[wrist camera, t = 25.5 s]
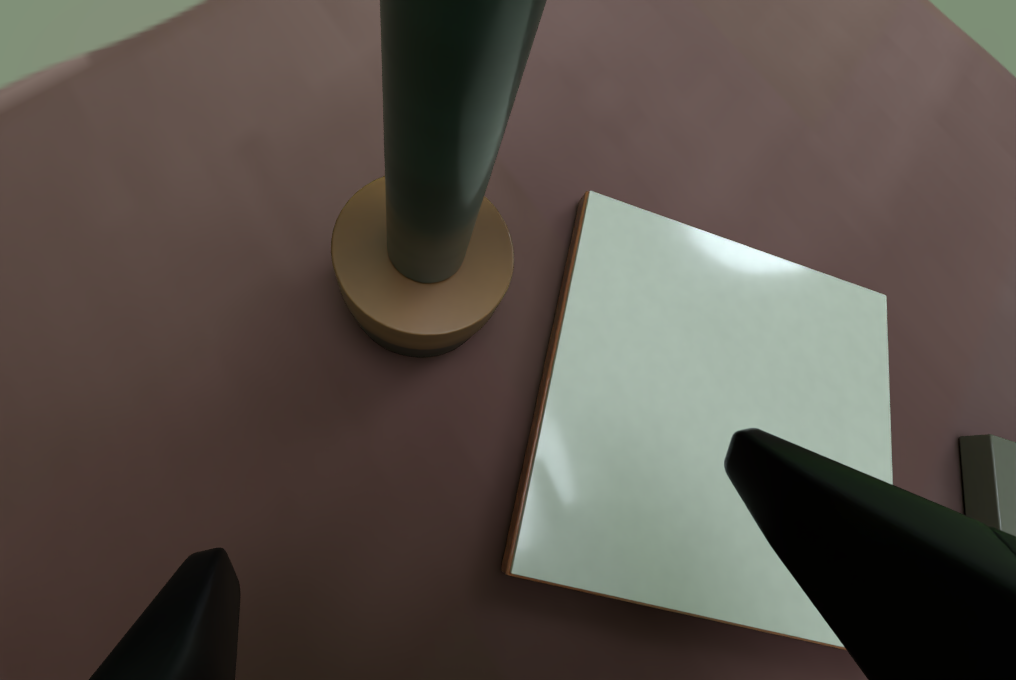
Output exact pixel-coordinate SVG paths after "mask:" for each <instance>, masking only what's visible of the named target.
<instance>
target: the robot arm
mask: <svg viewBox="0 0 1016 680" xmlns="http://www.w3.org/2000/svg"><path fill="white" fill-rule="evenodd" d="M724 469H725V472H726V474H727V476H728V478H729V479H730V481H731V482H732V484H733V486H734V487H735V489H736V491H737V492H738V494H739V496H740V497H741V499H742V501H743V502H744V504H745V506H746V507H747V509H748V510H749V512H750V514H751V515H752V517H753V519H754V520H755V522H756V524H757V525H758V527H759V529H760V530H761V532H762V533H763V535H764V537H765V538H766V540H767V541H768V543H769V544H770V546H771V547H772V549H773V550H774V551H775V553H776V554H777V556H778V557H779V558H780V560H781V561H782V563H783V564H784V565H785V567H786V568H787V569H788V571H789V572H790V573H791V575H792V576H793V578H794V579H795V580H796V582H797V583H798V584H799V586H800V587H801V588H802V590H803V591H804V593H805V594H806V595H807V597H808V598H809V599H810V601H811V602H812V603H813V605H814V606H815V608H816V609H817V610H818V612H819V613H820V614H821V616H822V617H823V618H824V620H825V621H826V623H827V624H828V625H829V627H830V628H831V629H832V631H833V632H834V633H835V635H836V636H837V637H838V639H839V640H840V642H841V643H842V644H843V646H844V647H845V648H846V650H847V651H848V652H849V654H850V655H851V657H852V658H853V659H854V661H855V662H856V663H857V665H858V666H859V667H860V669H861V670H862V672H863V673H864V674H865V676H866V677H867V678H868V680H1016V536H1014V535H1011V534H1009V533H1007V532H1004V531H1002V530H1000V529H997V528H995V527H992V526H989V527H988V526H987V525H986V524H985V523H983V522H980V521H978V520H975V519H973V518H971V517H968V516H966V515H963V514H961V513H959V512H956V511H954V510H952V509H949V508H947V507H944V506H942V505H940V504H937V503H935V502H932V501H930V500H928V499H925V498H923V497H921V496H918V495H916V494H913V493H911V492H909V491H906V490H904V489H901V488H899V487H897V486H894V485H892V484H889V483H887V482H885V481H882V480H880V479H878V478H875V477H873V476H870V475H868V474H866V473H863V472H861V471H858V470H856V469H854V468H851V467H849V466H846V465H844V464H842V463H839V462H837V461H835V460H832V459H830V458H827V457H825V456H823V455H820V454H818V453H815V452H813V451H811V450H808V449H806V448H804V447H801V446H799V445H796V444H794V443H792V442H789V441H787V440H784V439H782V438H780V437H777V436H775V435H773V434H770V433H768V432H765V431H763V430H761V429H758V428H747V429H743V430H739V431H736V432H735V433H734V434H733V435H732V438H731V441H730V444H729V447H728V450H727V453H726V456H725V459H724ZM239 612H240V584H239V580H238V578H237V576H236V573H235V571H234V568H233V566H232V564H231V561H230V559H229V557H228V554H227V552H226V551H225V550H224V549H223V548H213V549H209V550H205V551H200V552H196V553H193V554H192V555H190V556H189V557H188V558H187V559H186V560H185V561H184V562H183V563H182V565H181V566H180V567H179V568H178V570H177V571H176V572H175V573H174V575H173V576H172V577H171V578H170V580H169V581H168V582H167V583H166V585H165V586H164V587H163V588H162V590H161V591H160V592H159V593H158V595H157V596H156V597H155V598H154V599H153V601H152V602H151V603H150V604H149V606H148V607H147V608H146V609H145V611H144V612H143V613H142V614H141V616H140V617H139V618H138V619H137V621H136V622H135V623H134V624H133V626H132V627H131V628H130V629H129V630H128V632H127V633H126V634H125V635H124V637H123V638H122V639H121V640H120V642H119V643H118V644H117V645H116V647H115V648H114V649H113V650H112V652H111V653H110V654H109V655H108V657H107V658H106V659H105V660H104V662H103V663H102V664H101V665H100V666H99V668H98V669H97V670H96V671H95V673H94V674H93V675H92V676H91V678H90V679H89V680H235V674H236V659H237V643H238V627H239Z"/></svg>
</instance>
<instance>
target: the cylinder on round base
mask: <svg viewBox="0 0 1016 680" xmlns="http://www.w3.org/2000/svg"><path fill="white" fill-rule="evenodd" d="M545 3H546V0H380V18H381V53H382V87H383V122H384V156H385V176H383V177H381V178H379V179H376V180H374V181H372V182H371V183H369V184H367V185H366V186H364V187H363V188H362V189H360V190H359V191H358V192H357V193H355V194H354V195H353V197H352V198H351V199H350V200H349V201H348V202H347V203H346V205H345V206H344V208H343V209H342V210H341V212H340V214H339V216H338V218H337V220H336V223H335V226H334V229H333V234H332V240H331V256H332V263H333V267H334V271H335V274H336V278H337V281H338V285H339V288H340V292H341V295H342V297H343V299H344V302H345V304H346V306H347V307H348V309H349V310H350V312H351V313H352V315H353V316H354V317H355V318H356V320H357V322H358V323H359V325H360V326H361V328H362V329H363V330H364V331H365V333H366V334H367V335H368V336H369V337H370V338H371V339H372V340H374V341H375V342H376V343H378V344H379V345H381V346H382V347H384V348H386V349H388V350H390V351H392V352H395V353H398V354H401V355H405V356H411V357H431V356H437V355H440V354H444V353H447V352H449V351H451V350H454V349H455V348H457V347H459V346H460V345H462V344H463V343H464V342H466V341H467V340H468V339H469V338H470V337H471V336H472V335H474V334H475V333H476V332H477V331H479V330H480V329H481V328H482V327H483V326H484V325H485V324H486V323H487V322H488V320H489V319H490V318H491V316H492V315H493V313H494V312H495V310H496V308H497V307H498V305H499V303H500V302H501V300H502V298H503V297H504V295H505V293H506V291H507V289H508V287H509V284H510V281H511V278H512V273H513V268H514V251H513V244H512V240H511V236H510V233H509V231H508V228H507V225H506V224H505V222H504V220H503V218H502V216H501V215H500V213H499V212H498V210H497V209H496V208H495V207H494V205H493V204H492V203H491V202H490V201H489V200H488V199H487V198H486V197H485V196H484V195H485V191H486V188H487V185H488V182H489V179H490V176H491V173H492V169H493V166H494V163H495V160H496V157H497V154H498V151H499V148H500V144H501V141H502V138H503V135H504V132H505V129H506V126H507V122H508V119H509V116H510V113H511V110H512V107H513V104H514V101H515V97H516V94H517V91H518V88H519V85H520V82H521V79H522V75H523V72H524V69H525V66H526V63H527V60H528V57H529V54H530V50H531V47H532V44H533V41H534V38H535V35H536V32H537V29H538V25H539V22H540V19H541V16H542V13H543V10H544V7H545Z"/></svg>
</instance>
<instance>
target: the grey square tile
mask: <svg viewBox="0 0 1016 680" xmlns="http://www.w3.org/2000/svg"><path fill="white" fill-rule="evenodd" d="M960 451H961V463H962V476H963V489H964V501H965V514H966V516H968V517H971V518H973V519H975V520H978V521H980V522H983V523H985V524H986V525H987V526H988V527H989V526H992V527H995V528H997V529H1000V530H1002V531H1004V532H1007V533H1009V534H1011V535H1014V536H1016V442H1013V441H1010V440H1007V439H1004V438H1000V437H997V436H994V435H991V434H988V435H974V436H961V437H960Z"/></svg>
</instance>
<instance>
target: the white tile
mask: <svg viewBox="0 0 1016 680" xmlns="http://www.w3.org/2000/svg"><path fill="white" fill-rule="evenodd" d="M747 428H758V429H761V430H763V431H765V432H768V433H770V434H773V435H775V436H777V437H780V438H782V439H784V440H787V441H789V442H792V443H794V444H796V445H799V446H801V447H804V448H806V449H808V450H811V451H813V452H815V453H818V454H820V455H823V456H825V457H827V458H830V459H832V460H835V461H837V462H839V463H842V464H844V465H846V466H849V467H851V468H854V469H856V470H858V471H861V472H863V473H866V474H868V475H870V476H873V477H875V478H878V479H880V480H882V481H885V482H887V483H889V484H892V485H893V480H892V450H891V421H890V392H889V362H888V333H887V303H886V295H883V294H881V293H878V292H875V291H872V290H869V289H866V288H864V287H861V286H858V285H855V284H852V283H850V282H847V281H844V280H841V279H838V278H835V277H833V276H830V275H827V274H824V273H821V272H818V271H816V270H813V269H810V268H807V267H804V266H802V265H799V264H796V263H793V262H790V261H787V260H785V259H782V258H779V257H776V256H773V255H771V254H768V253H765V252H762V251H759V250H756V249H754V248H751V247H748V246H745V245H742V244H739V243H737V242H734V241H731V240H728V239H725V238H723V237H720V236H717V235H714V234H711V233H708V232H706V231H703V230H700V229H697V228H694V227H692V226H689V225H686V224H683V223H680V222H677V221H675V220H672V219H669V218H666V217H663V216H660V215H658V214H655V213H652V212H649V211H646V210H644V209H641V208H638V207H635V206H632V205H629V204H627V203H624V202H621V201H618V200H615V199H613V198H610V197H607V196H604V195H601V194H598V193H596V192H593V191H590V192H588V191H586V192H585V194H584V195H583V197H582V198H581V200H580V201H579V205H578V210H577V214H576V219H575V224H574V228H573V233H572V238H571V242H570V247H569V252H568V256H567V261H566V266H565V271H564V275H563V280H562V285H561V289H560V294H559V299H558V303H557V308H556V313H555V317H554V322H553V327H552V332H551V336H550V341H549V346H548V350H547V355H546V360H545V364H544V369H543V374H542V378H541V383H540V388H539V392H538V397H537V402H536V407H535V411H534V416H533V421H532V425H531V430H530V435H529V439H528V444H527V449H526V453H525V458H524V463H523V468H522V472H521V477H520V482H519V486H518V491H517V496H516V500H515V505H514V510H513V514H512V519H511V524H510V529H509V533H508V538H507V543H506V547H505V552H504V557H503V561H502V566H501V570H502V571H503V572H504V573H505V574H506V575H508V576H513V577H517V578H522V579H526V580H531V581H535V582H540V583H545V584H549V585H554V586H558V587H563V588H567V589H572V590H576V591H581V592H585V593H590V594H594V595H599V596H603V597H608V598H612V599H617V600H621V601H626V602H630V603H635V604H639V605H644V606H648V607H653V608H657V609H662V610H666V611H671V612H675V613H680V614H685V615H689V616H694V617H698V618H703V619H707V620H712V621H716V622H721V623H725V624H730V625H734V626H739V627H743V628H748V629H752V630H757V631H761V632H766V633H770V634H775V635H779V636H784V637H788V638H793V639H797V640H802V641H806V642H811V643H815V644H820V645H825V646H829V647H834V648H838V649H843V650H846V648H845V647H844V646H843V644H842V643H841V642H840V640H839V639H838V637H837V636H836V635H835V633H834V632H833V631H832V629H831V628H830V627H829V625H828V624H827V623H826V621H825V620H824V618H823V617H822V616H821V614H820V613H819V612H818V610H817V609H816V608H815V606H814V605H813V603H812V602H811V601H810V599H809V598H808V597H807V595H806V594H805V593H804V591H803V590H802V588H801V587H800V586H799V584H798V583H797V582H796V580H795V579H794V578H793V576H792V575H791V573H790V572H789V571H788V569H787V568H786V567H785V565H784V564H783V563H782V561H781V560H780V558H779V557H778V556H777V554H776V553H775V551H774V550H773V549H772V547H771V546H770V544H769V543H768V541H767V540H766V538H765V537H764V535H763V533H762V532H761V530H760V529H759V527H758V525H757V524H756V522H755V520H754V519H753V517H752V515H751V514H750V512H749V510H748V509H747V507H746V506H745V504H744V502H743V501H742V499H741V497H740V496H739V494H738V492H737V491H736V489H735V487H734V486H733V484H732V482H731V481H730V479H729V478H728V476H727V474H726V472H725V469H724V459H725V456H726V453H727V450H728V447H729V444H730V441H731V438H732V435H733V434H734V433H735V432H736V431H739V430H743V429H747Z"/></svg>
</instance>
